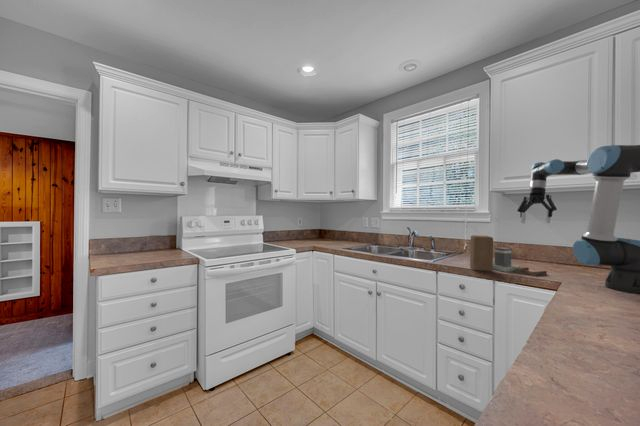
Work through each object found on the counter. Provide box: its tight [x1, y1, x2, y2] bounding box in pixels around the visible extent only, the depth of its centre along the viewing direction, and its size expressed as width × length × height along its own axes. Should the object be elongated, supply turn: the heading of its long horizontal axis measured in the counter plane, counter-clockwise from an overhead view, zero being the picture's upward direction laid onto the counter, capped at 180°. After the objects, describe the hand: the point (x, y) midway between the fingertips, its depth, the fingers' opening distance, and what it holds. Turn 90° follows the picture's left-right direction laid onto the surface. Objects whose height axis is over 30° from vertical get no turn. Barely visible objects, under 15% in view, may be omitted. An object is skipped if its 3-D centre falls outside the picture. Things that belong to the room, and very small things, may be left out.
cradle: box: [514, 266, 547, 277], centre depth 158 cm, size 10×10×2 cm
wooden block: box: [469, 234, 494, 273], centre depth 166 cm, size 10×10×20 cm
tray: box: [493, 262, 521, 273], centre depth 168 cm, size 12×12×2 cm
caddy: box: [494, 247, 512, 267], centre depth 168 cm, size 6×6×12 cm
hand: (534, 222), depth 166 cm, fingers open, 13 cm apart
